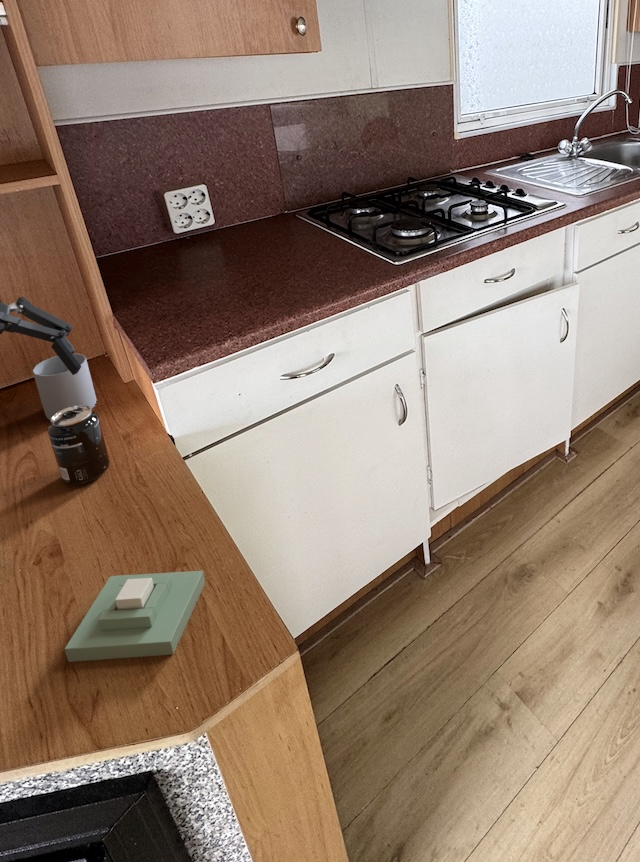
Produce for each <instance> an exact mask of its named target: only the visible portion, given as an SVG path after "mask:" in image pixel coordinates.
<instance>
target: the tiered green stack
mask: <svg viewBox="0 0 640 862" xmlns="http://www.w3.org/2000/svg"><path fill="white" fill-rule="evenodd" d="M140 578H152V581H153V585H154V589H153V591H152V593H151V594H150V596H149V598H148V600H147V602H146V604H145V606H144V607H143V609H130V610H118V609H117V606H116V602H115V599H116V598H117V596H118V594H119V593H120V591H121V589H122V588H123V586H124V584H125V582H126V581H127V579H140ZM205 578H206V577H205V574H204V570H194V571H193V570H191V571H174V572H158V573H139V574H122V575H110V576H109V577H108V579H107V581H106V582H105V584H104V585H103V587H102V588H101V590H100V592H99V594H98V595H97V596H96V598H95V599H94V601H93V603H92V604H91V606H90V608H89V609H88V611H87V612H86V614H85V615H84V617H83V618H82V620H81V621H80V623H79V624H78V626H77V628H76V630H75V631H74V633H73V634H72V636H71V637H70V639H69V641H68V642H67V644H66V645H65V646H64V649H63V650H64V652H65V655H66V659H67V661H68V662H69V663H72V662H87V661H102V660H113V659H128V658H143V657H144V658H145V657H156V656H158V657H159V656H169V655H170V656H171V655H174V654H175V652H176V649H177V647H178V645H179V643H180V640H181V638H182V636H183V634H184V632H185V629H186V627H187V624H188V622H189V620H190V618H191V616H192V613H193V612H194V609H195V607H196V605H197V603H198V600H199V598H200V596H201V594H202V592H203V589H204V587H205V585H206V579H205Z"/></svg>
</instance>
